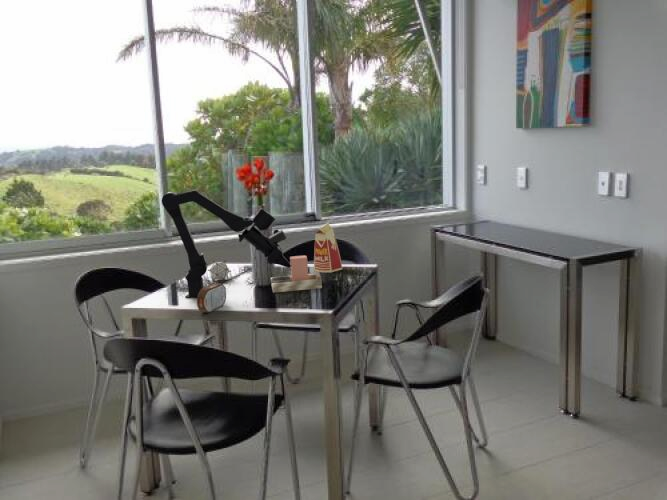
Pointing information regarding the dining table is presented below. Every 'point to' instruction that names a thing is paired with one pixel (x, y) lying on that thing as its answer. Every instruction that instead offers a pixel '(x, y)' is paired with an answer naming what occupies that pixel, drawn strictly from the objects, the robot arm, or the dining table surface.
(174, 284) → the dining table surface
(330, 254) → the milk carton
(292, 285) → the wooden tray
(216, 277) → the geodesic ball
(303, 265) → the coral block
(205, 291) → the tin
